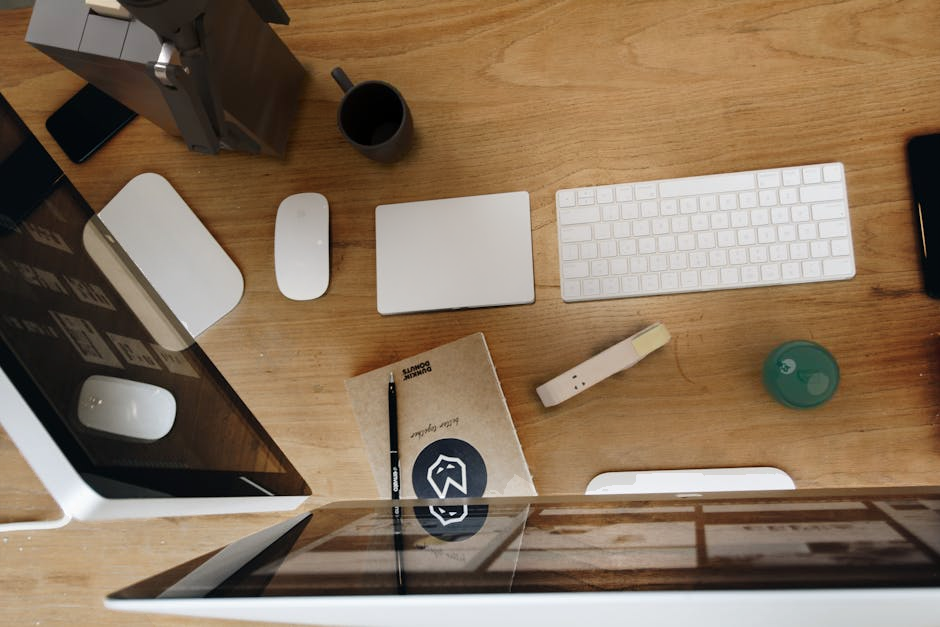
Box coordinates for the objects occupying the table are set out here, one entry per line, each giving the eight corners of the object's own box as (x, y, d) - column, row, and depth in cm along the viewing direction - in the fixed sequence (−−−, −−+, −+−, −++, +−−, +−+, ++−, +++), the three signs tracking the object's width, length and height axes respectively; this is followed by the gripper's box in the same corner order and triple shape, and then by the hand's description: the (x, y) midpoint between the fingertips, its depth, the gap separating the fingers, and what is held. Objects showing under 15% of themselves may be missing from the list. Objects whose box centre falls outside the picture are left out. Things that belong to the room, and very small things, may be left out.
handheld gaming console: (654, 349, 84) (546, 409, 83) (642, 329, 85) (535, 388, 84) (682, 338, 73) (558, 407, 72) (668, 315, 74) (545, 383, 73)
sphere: (740, 392, 81) (760, 394, 73) (767, 329, 81) (790, 324, 73) (808, 421, 80) (836, 426, 72) (835, 357, 80) (866, 355, 72)
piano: (171, 135, 93) (23, 41, 67) (194, 49, 93) (57, -77, 68) (283, 158, 90) (175, 70, 65) (306, 70, 91) (208, -52, 65)
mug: (381, 76, 90) (361, 40, 80) (435, 147, 88) (421, 119, 79) (330, 115, 90) (304, 84, 81) (383, 186, 88) (363, 163, 79)
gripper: (151, 128, 48) (270, 208, 69) (231, -202, 50) (323, -28, 71) (52, 113, 49) (200, 196, 70) (135, -211, 51) (254, -36, 72)
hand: (262, 83), depth 71 cm, fingers open, 13 cm apart
